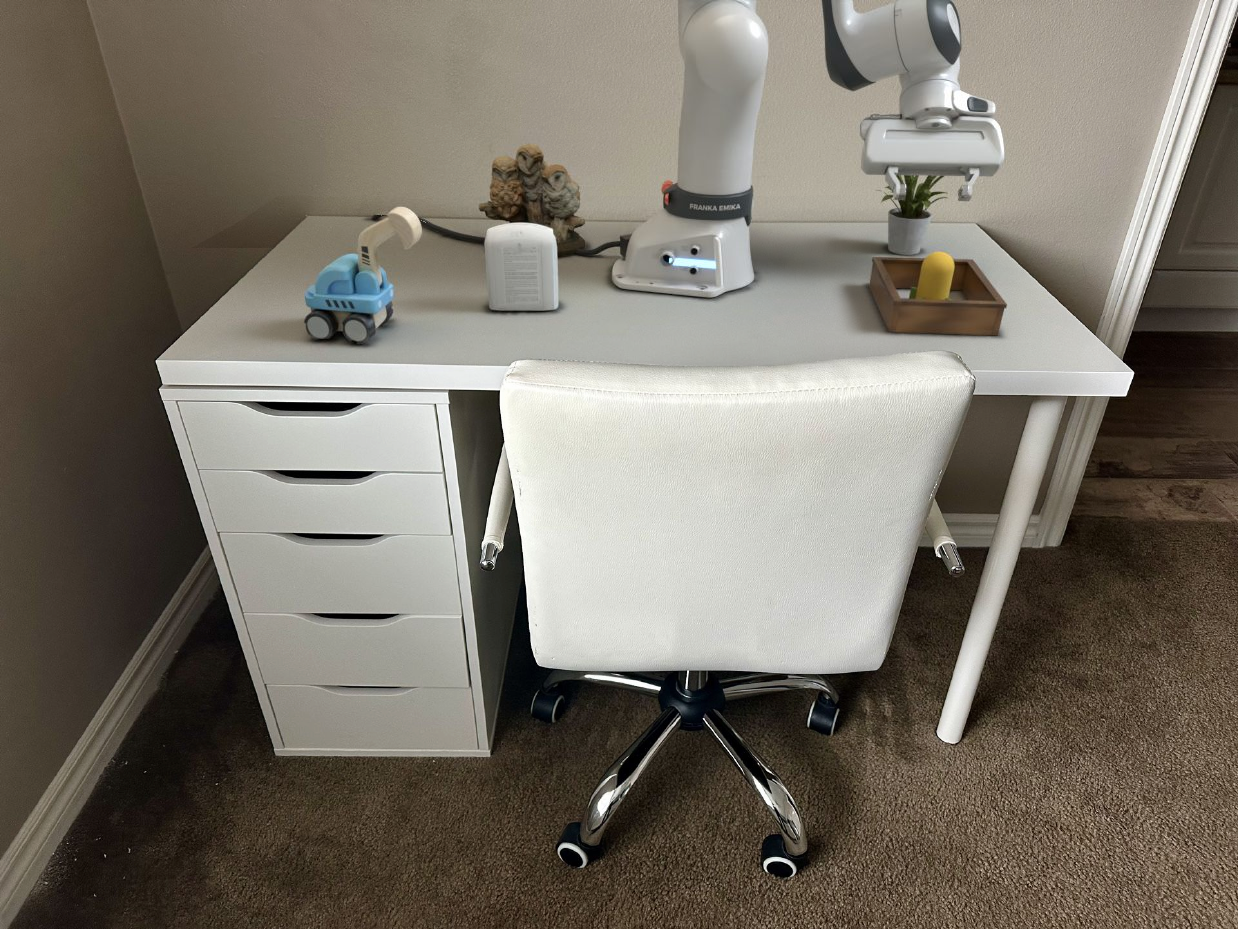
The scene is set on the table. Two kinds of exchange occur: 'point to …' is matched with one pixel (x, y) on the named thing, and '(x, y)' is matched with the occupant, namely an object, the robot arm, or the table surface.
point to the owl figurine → (536, 196)
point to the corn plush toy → (934, 277)
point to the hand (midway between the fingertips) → (932, 198)
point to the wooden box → (933, 314)
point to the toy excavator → (359, 283)
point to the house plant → (910, 215)
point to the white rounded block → (521, 267)
